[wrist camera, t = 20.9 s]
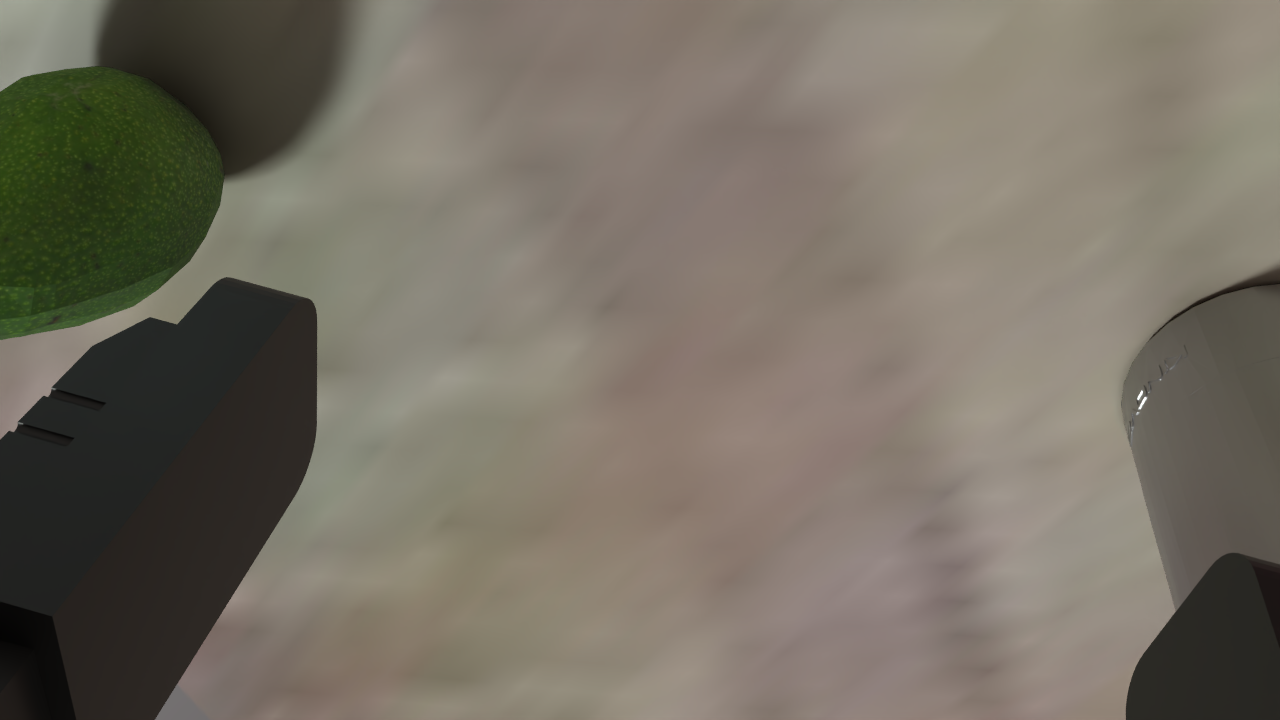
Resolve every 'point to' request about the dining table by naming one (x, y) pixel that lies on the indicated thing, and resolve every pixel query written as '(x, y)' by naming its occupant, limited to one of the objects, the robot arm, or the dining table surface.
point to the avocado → (96, 195)
